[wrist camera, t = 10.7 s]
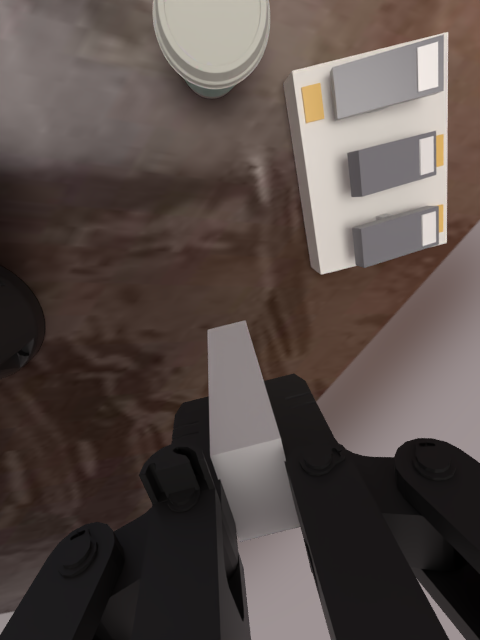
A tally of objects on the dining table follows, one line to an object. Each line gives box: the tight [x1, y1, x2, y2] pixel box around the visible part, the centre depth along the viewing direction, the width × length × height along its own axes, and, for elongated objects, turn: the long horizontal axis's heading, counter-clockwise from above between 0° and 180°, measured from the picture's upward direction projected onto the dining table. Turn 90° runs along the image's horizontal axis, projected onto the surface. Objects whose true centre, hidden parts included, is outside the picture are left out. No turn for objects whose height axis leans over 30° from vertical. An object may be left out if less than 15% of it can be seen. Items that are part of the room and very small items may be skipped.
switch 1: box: [330, 34, 444, 121], centre depth 30 cm, size 9×4×2 cm, turn 103°
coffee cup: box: [153, 0, 270, 99], centre depth 29 cm, size 9×8×12 cm
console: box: [283, 32, 448, 274], centre depth 37 cm, size 15×20×6 cm
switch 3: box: [352, 206, 439, 268], centre depth 35 cm, size 9×4×2 cm, turn 103°
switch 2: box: [347, 131, 436, 197], centre depth 33 cm, size 9×4×2 cm, turn 103°
